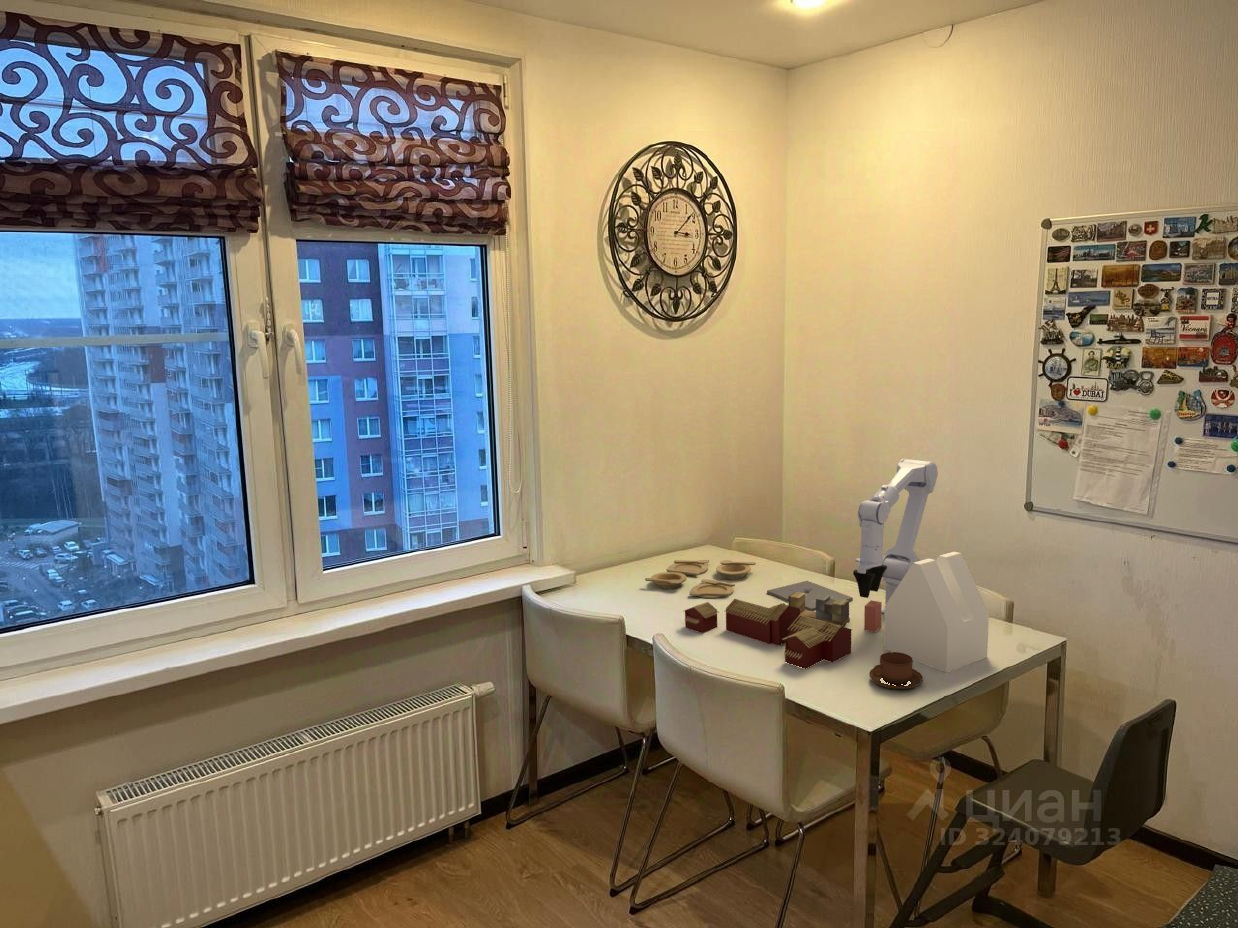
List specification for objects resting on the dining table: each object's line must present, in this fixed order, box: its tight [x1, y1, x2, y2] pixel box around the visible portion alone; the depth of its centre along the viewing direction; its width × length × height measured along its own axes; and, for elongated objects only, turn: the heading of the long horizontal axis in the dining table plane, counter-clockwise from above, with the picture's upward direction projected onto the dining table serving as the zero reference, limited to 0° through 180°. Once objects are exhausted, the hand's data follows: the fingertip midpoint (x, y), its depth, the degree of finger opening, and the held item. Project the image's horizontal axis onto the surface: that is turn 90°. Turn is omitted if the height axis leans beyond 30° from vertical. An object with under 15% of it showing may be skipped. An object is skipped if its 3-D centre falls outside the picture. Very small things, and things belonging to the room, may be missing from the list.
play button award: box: [766, 580, 854, 612], centre depth 274 cm, size 16×2×20 cm
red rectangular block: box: [863, 599, 883, 633], centre depth 246 cm, size 3×5×7 cm, turn 146°
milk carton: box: [883, 551, 990, 674], centre depth 227 cm, size 19×15×25 cm
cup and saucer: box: [868, 651, 924, 690], centre depth 212 cm, size 12×12×6 cm
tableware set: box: [644, 559, 757, 599], centre depth 293 cm, size 35×29×4 cm
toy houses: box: [683, 598, 853, 670], centre depth 241 cm, size 45×20×10 cm, turn 43°
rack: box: [787, 592, 851, 627], centre depth 255 cm, size 17×4×6 cm, turn 56°
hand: (869, 593), depth 245 cm, fingers open, 7 cm apart
